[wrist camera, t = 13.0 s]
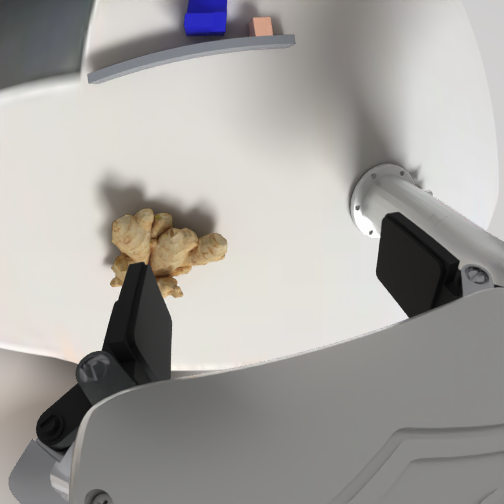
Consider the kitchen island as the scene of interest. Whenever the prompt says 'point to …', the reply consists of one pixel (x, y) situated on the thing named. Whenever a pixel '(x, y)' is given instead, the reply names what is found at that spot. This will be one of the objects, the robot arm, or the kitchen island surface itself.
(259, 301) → the kitchen island surface
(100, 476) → the robot arm
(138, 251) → the ginger root
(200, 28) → the cable clip
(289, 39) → the guide channel
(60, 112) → the kitchen island surface
